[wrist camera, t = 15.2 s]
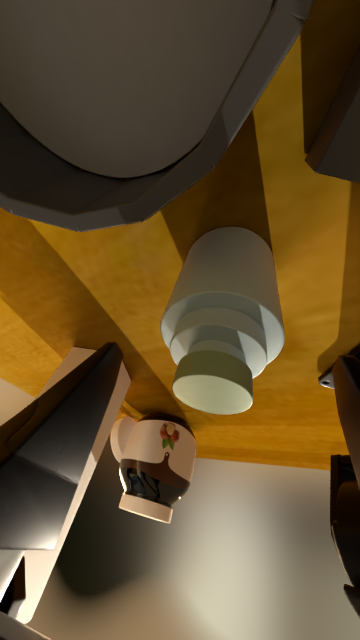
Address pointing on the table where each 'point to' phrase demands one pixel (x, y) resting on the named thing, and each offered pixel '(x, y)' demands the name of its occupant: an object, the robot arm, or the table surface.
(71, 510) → the milk
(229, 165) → the table surface
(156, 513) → the spread jar
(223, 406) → the bottle
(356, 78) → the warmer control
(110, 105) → the bottle warmer
